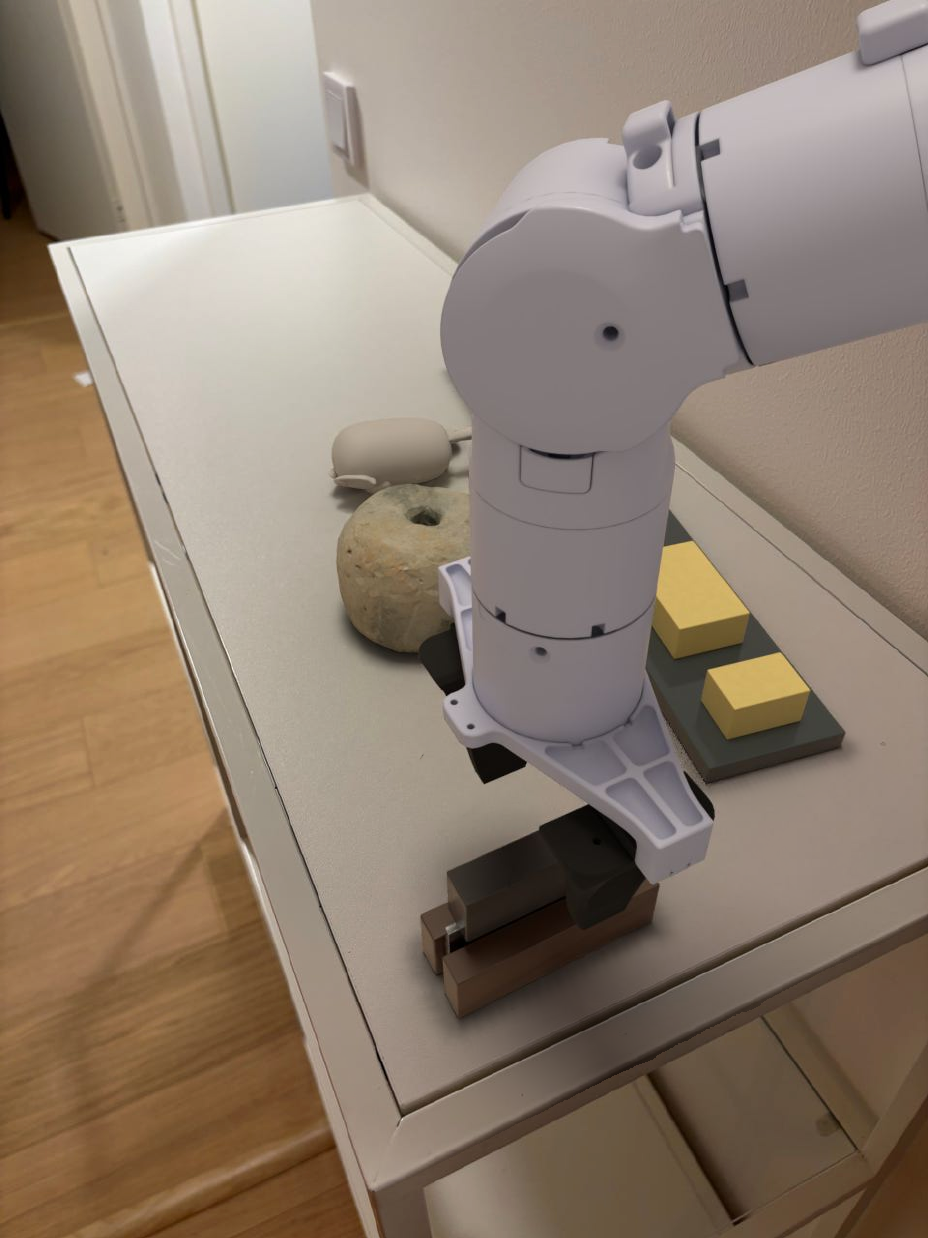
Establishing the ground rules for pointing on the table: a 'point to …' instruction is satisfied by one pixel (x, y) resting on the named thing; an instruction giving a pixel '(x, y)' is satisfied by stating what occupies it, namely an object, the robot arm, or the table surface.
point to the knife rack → (522, 948)
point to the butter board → (695, 726)
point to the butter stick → (695, 604)
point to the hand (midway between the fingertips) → (546, 837)
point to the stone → (401, 562)
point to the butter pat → (754, 695)
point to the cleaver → (501, 889)
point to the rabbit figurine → (392, 452)
